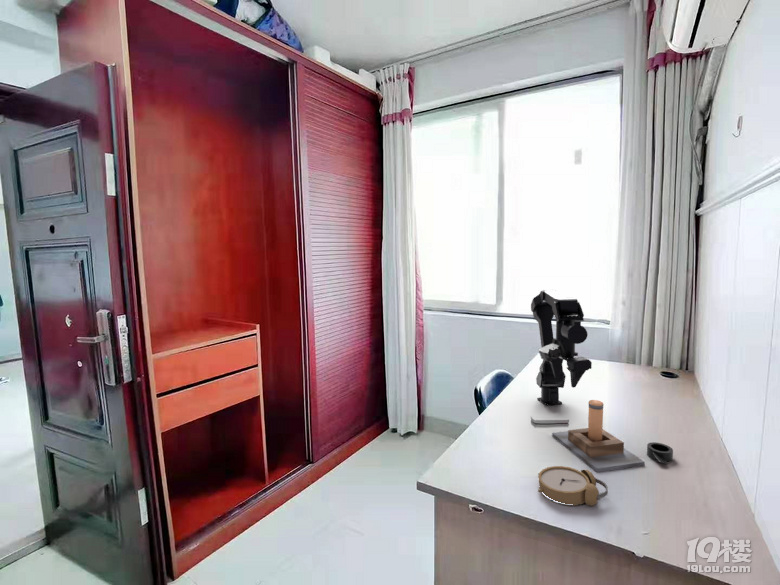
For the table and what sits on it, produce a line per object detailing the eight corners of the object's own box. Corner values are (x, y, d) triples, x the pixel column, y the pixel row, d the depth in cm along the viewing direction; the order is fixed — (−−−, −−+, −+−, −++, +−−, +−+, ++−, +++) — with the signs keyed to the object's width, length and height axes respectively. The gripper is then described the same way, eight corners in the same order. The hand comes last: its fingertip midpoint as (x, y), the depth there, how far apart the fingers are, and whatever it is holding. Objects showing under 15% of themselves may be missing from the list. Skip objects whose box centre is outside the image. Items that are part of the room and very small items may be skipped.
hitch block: (552, 436, 121) (552, 423, 120) (593, 430, 123) (593, 418, 122) (596, 472, 101) (597, 457, 100) (644, 465, 103) (645, 450, 103)
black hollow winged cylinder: (634, 456, 108) (635, 446, 108) (653, 446, 113) (654, 437, 113) (665, 470, 101) (666, 459, 101) (684, 458, 106) (685, 448, 106)
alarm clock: (537, 464, 101) (601, 463, 95) (540, 482, 101) (605, 483, 96) (536, 489, 90) (609, 490, 85) (540, 510, 91) (613, 512, 85)
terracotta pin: (584, 443, 113) (585, 400, 112) (596, 442, 114) (597, 399, 112) (593, 450, 110) (594, 405, 108) (605, 448, 110) (606, 404, 109)
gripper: (527, 332, 136) (527, 375, 137) (559, 344, 117) (559, 395, 119) (557, 329, 137) (556, 373, 139) (593, 342, 119) (592, 391, 121)
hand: (564, 382), depth 129 cm, fingers open, 9 cm apart
